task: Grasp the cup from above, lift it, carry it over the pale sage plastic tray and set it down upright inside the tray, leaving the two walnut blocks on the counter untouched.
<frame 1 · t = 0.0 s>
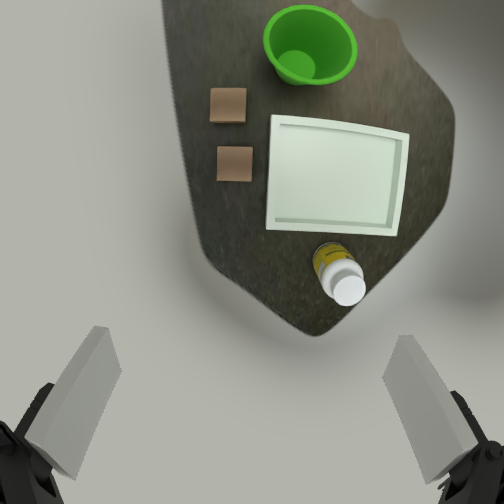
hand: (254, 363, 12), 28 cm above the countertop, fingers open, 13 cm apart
tray: (335, 175, 36), on the countertop
cup: (295, 68, 31), on the countertop
walnut block b: (230, 108, 33), on the countertop
supplement bottle: (329, 257, 41), on the countertop
walnut block a: (236, 161, 36), on the countertop
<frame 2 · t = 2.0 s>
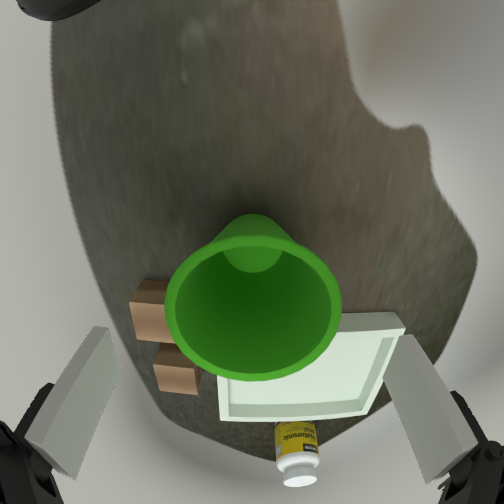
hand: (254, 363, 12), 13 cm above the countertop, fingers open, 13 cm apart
tray: (302, 365, 30), on the countertop
cup: (252, 241, 24), on the countertop
walnut block b: (166, 298, 26), on the countertop
supplement bottle: (293, 420, 34), on the countertop
walnut block a: (183, 353, 29), on the countertop
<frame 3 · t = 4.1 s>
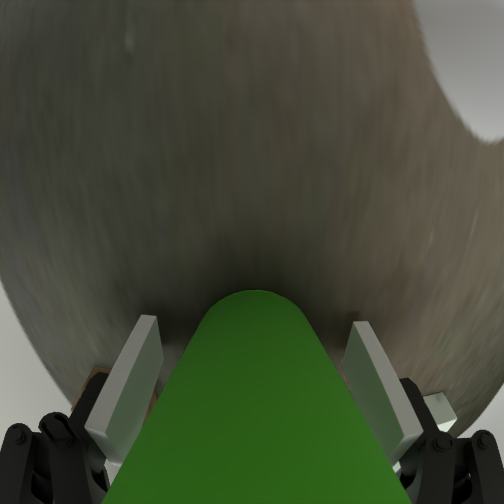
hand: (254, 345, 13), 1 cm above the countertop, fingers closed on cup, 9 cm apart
tray: (318, 455, 19), on the countertop
cup: (254, 329, 14), on the countertop, touching gripper
walnut block b: (129, 391, 16), on the countertop
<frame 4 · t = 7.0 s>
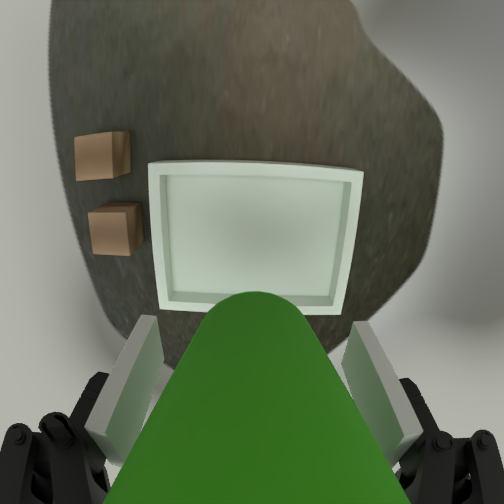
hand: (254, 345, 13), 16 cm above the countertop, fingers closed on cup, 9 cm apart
tray: (253, 234, 28), on the countertop
cup: (254, 331, 14), point 15 cm above the countertop, touching gripper
walnut block b: (112, 153, 25), on the countertop
walnut block a: (125, 221, 27), on the countertop
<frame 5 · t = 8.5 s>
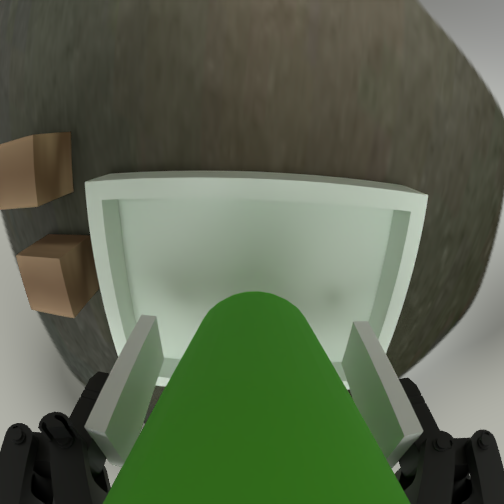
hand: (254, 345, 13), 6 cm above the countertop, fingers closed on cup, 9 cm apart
tray: (253, 284, 18), on the countertop
cup: (254, 331, 14), point 5 cm above the countertop, touching gripper
walnut block b: (50, 164, 15), on the countertop
walnut block a: (73, 260, 18), on the countertop
when the fingers open (3 cm above the countertop, at t = 10.0 s): cup drops 1 cm, resting on tray.
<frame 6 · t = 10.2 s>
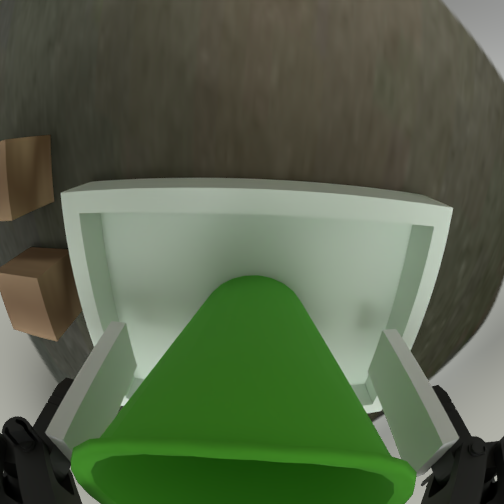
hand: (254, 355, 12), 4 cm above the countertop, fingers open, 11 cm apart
tray: (254, 305, 16), on the countertop
cup: (254, 315, 15), point 1 cm above the countertop, touching tray
walnut block b: (30, 171, 13), on the countertop
walnut block a: (57, 276, 16), on the countertop
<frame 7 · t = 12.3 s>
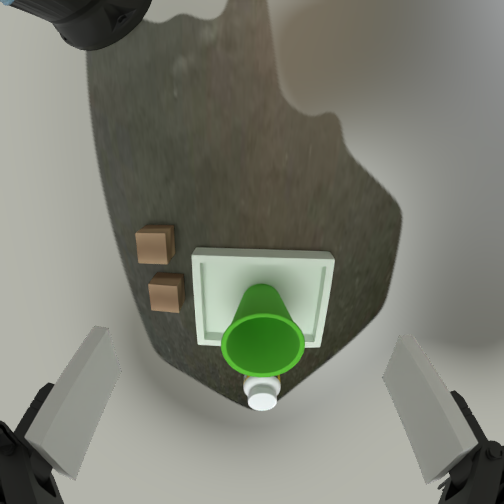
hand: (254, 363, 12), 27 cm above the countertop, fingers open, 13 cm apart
tray: (261, 295, 41), on the countertop
cup: (261, 298, 40), point 1 cm above the countertop, touching tray
walnut block b: (160, 239, 38), on the countertop
supplement bottle: (261, 357, 45), on the countertop
walnut block a: (171, 285, 41), on the countertop
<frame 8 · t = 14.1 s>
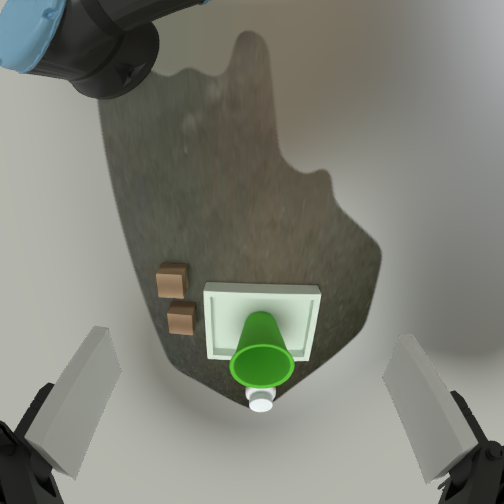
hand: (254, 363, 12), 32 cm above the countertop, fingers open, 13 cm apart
tray: (260, 319, 49), on the countertop
cup: (260, 322, 48), point 1 cm above the countertop, touching tray
walnut block b: (175, 274, 46), on the countertop
supplement bottle: (260, 367, 53), on the countertop
walnut block a: (184, 311, 48), on the countertop
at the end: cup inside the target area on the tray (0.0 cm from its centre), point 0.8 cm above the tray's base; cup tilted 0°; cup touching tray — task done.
